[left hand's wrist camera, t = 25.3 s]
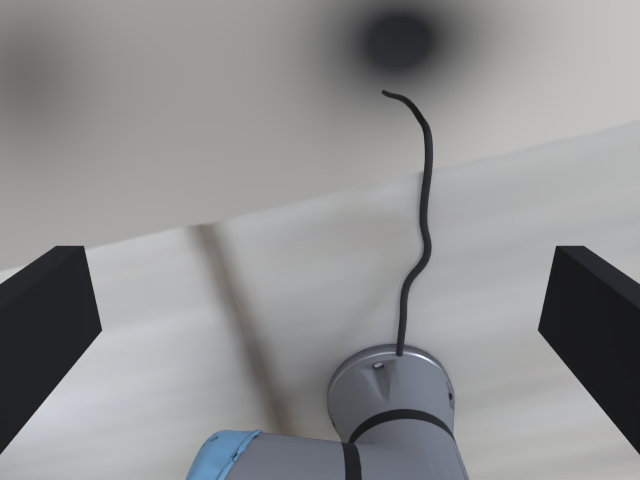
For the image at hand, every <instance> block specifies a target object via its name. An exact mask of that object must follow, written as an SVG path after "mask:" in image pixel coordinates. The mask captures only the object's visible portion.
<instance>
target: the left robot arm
mask: <svg viewBox="0 0 640 480" xmlns="http://www.w3.org/2000/svg"><path fill="white" fill-rule="evenodd" d="M382 94H383V95H384V96H386V97H389V98H393V99H396V100H399V101H401V102H403V103H404V104H405V105H407V107H408V108H409V109H410V110H411V111H412V113H413V114H414V116H415V118H416V119H417V121H418V122H419V124H420V125H421V127H422V130H423V135H424V143H425V166H424V176H423V184H422V192H421V202H420V227H421V232H422V236H423V240H424V253H423V256H422V259H421V261H420V262H419V263H418V265H417V266H416V267H415V268H414V269H413V270H412V272H411V273H410V274H409V275H408V277H407V278H406V280H405V282H404V285H403V288H402V292H401V299H400V322H399V331H398V340H397V345H396V344H390V345H380V346H375V347H371V348H368V349H365V350H363V351H360V352H358V353H356V354H355V355H353V356H351V357H350V358H349V359H347V360H346V361H345V362H344V363H343V364H342V365H341V366H340V367H339V368H338V369H337V371H336V372H335V374H334V375H333V377H332V379H331V382H330V385H329V389H328V412H329V416H330V420H331V422H332V424H333V426H334V428H335V430H336V432H337V433H338V435H339V436H340V439H341V441H342V442H337V441H328V440H320V439H311V438H302V437H293V436H285V435H277V434H270V433H263V431H260V430H256V431H254V432H248V431H230V430H224V431H220V432H217V433H215V434H213V435H212V436H211V437H209V438H208V439H207V441H206V442H205V443H204V444H203V446H202V447H201V449H200V450H199V452H198V454H197V456H196V458H195V460H194V462H193V464H192V466H191V468H190V470H189V473H188V475H187V477H186V480H469V477H468V474H467V472H466V469H465V466H464V464H463V461H462V458H461V455H460V453H459V450H458V447H457V445H456V442H455V439H454V436H453V426H454V392H453V388H452V385H451V382H450V380H449V378H448V375H447V373H446V371H445V370H444V368H443V367H442V365H441V364H440V363H439V362H438V361H437V360H436V359H435V358H434V357H432V356H431V355H429V354H428V353H426V352H424V351H422V350H420V349H417V348H414V347H410V346H406V345H404V339H405V330H406V321H407V298H408V293H409V289H410V286H411V284H412V282H413V281H414V279H415V278H416V277H417V276H418V274H419V273H420V272H421V271H422V270H423V269H424V267H425V266H426V265H427V263H428V261H429V258H430V255H431V239H430V235H429V231H428V225H427V209H428V198H429V191H430V183H431V175H432V165H433V143H432V134H431V129H430V126H429V124H428V122H427V121H426V120H425V118H424V117H423V115H422V114H421V112H420V111H419V109H418V108H417V107H416V106H415V104H414V103H413V102H412V101H411V100H410V99H408V98H407V97H405V96H403V95H399V94H395V93H390V92H387V91H386V90H383V91H382ZM101 331H102V327H101V323H100V318H99V314H98V309H97V304H96V300H95V295H94V291H93V286H92V281H91V277H90V272H89V268H88V263H87V258H86V254H85V249H84V246H55V247H54V248H52V249H51V250H50V251H48V252H47V253H45V254H44V255H42V256H41V257H39V258H38V259H36V260H35V261H33V262H32V263H31V264H29V265H28V266H26V267H25V268H23V269H22V270H20V271H19V272H17V273H16V274H15V275H13V276H12V277H10V278H9V279H7V280H6V281H4V282H3V283H1V284H0V454H1V453H2V452H3V451H4V449H5V448H6V447H7V446H8V445H9V443H10V442H11V441H12V440H13V438H14V437H15V436H16V435H17V434H18V432H19V431H20V430H21V429H22V427H23V426H24V425H25V424H26V423H27V421H28V420H29V419H30V418H31V416H32V415H33V414H34V413H35V412H36V410H37V409H38V408H39V407H40V406H41V404H42V403H43V402H44V401H45V399H46V398H47V397H48V396H49V395H50V393H51V392H52V391H53V390H54V388H55V387H56V386H57V385H58V384H59V382H60V381H61V380H62V379H63V377H64V376H65V375H66V374H67V373H68V371H69V370H70V369H71V368H72V367H73V365H74V364H75V363H76V362H77V360H78V359H79V358H80V357H81V356H82V354H83V353H84V352H85V351H86V349H87V348H88V347H89V346H90V345H91V343H92V342H93V341H94V340H95V339H96V337H97V336H98V335H99V334H100V332H101ZM538 331H539V332H540V334H541V335H542V336H543V337H544V339H545V340H546V341H547V342H548V343H549V345H550V346H551V347H552V348H553V349H554V351H555V352H556V353H557V354H558V356H559V357H560V358H561V359H562V360H563V362H564V363H565V364H566V365H567V367H568V368H569V369H570V370H571V371H572V373H573V374H574V375H575V376H576V377H577V379H578V380H579V381H580V382H581V384H582V385H583V386H584V387H585V388H586V390H587V391H588V392H589V393H590V395H591V396H592V397H593V398H594V399H595V401H596V402H597V403H598V404H599V406H600V407H601V408H602V409H603V410H604V412H605V413H606V414H607V415H608V416H609V418H610V419H611V420H612V421H613V423H614V424H615V425H616V426H617V427H618V429H619V430H620V431H621V432H622V434H623V435H624V436H625V437H626V438H627V440H628V441H629V442H630V443H631V445H632V446H633V447H634V448H635V449H636V451H637V452H638V453H639V454H640V284H639V283H637V282H636V281H634V280H633V279H631V278H630V277H628V276H627V275H625V274H624V273H623V272H621V271H620V270H618V269H617V268H615V267H614V266H612V265H611V264H609V263H608V262H607V261H605V260H604V259H602V258H601V257H599V256H598V255H596V254H595V253H593V252H592V251H591V250H589V249H588V248H586V247H585V246H556V249H555V254H554V258H553V263H552V268H551V272H550V277H549V281H548V286H547V291H546V295H545V300H544V304H543V309H542V314H541V318H540V323H539V327H538Z"/></svg>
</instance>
